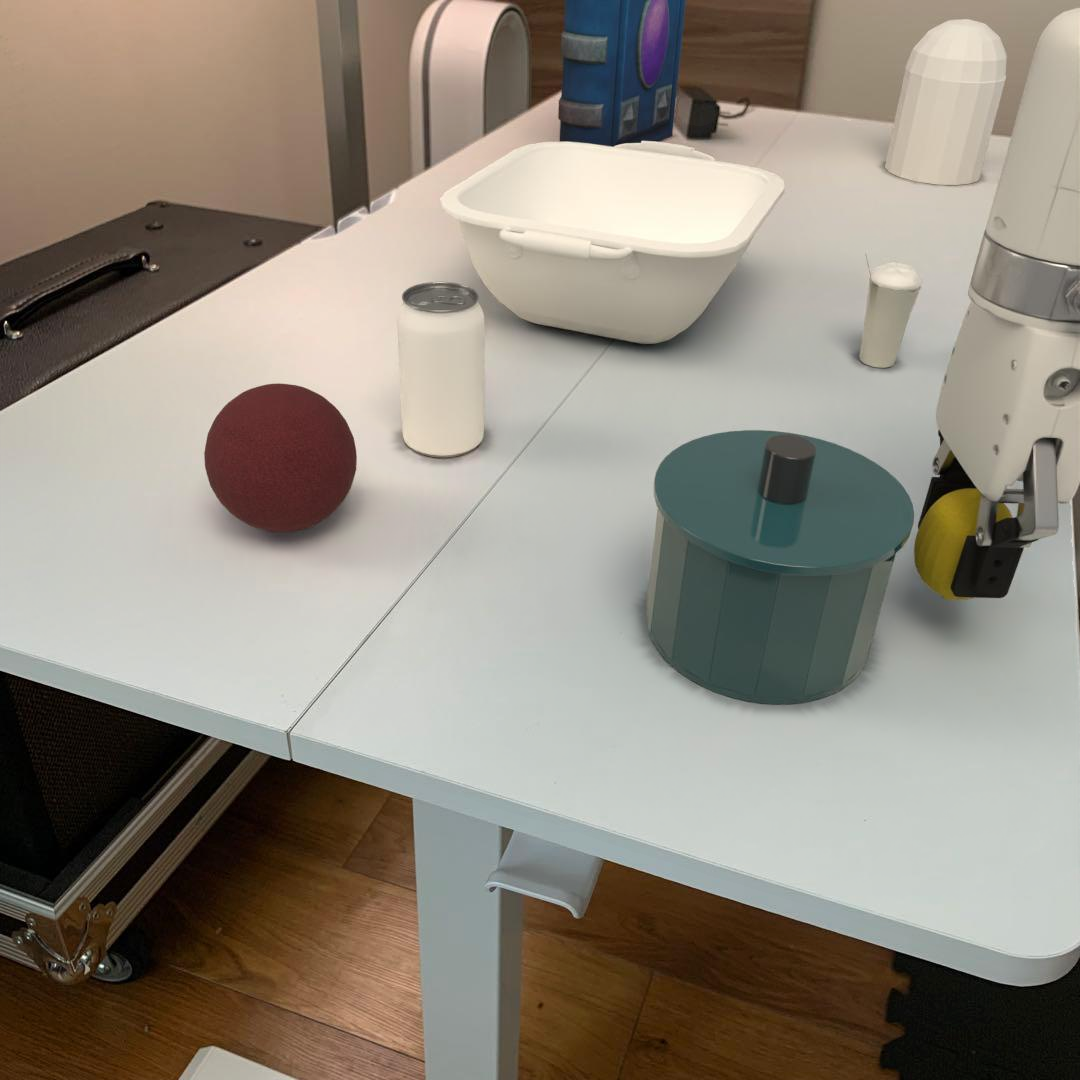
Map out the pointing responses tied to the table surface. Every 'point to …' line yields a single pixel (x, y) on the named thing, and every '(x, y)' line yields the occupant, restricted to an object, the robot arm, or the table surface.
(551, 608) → the table surface
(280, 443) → the decorative ball
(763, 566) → the pot lid
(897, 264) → the milkshake
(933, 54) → the container
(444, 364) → the can
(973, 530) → the lemon
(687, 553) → the enamel pot
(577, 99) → the book
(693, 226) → the white plastic basin
